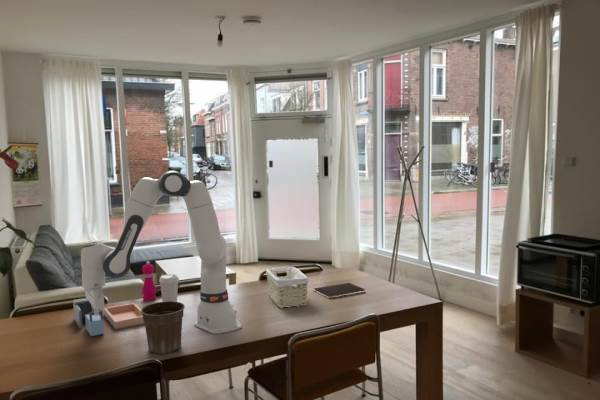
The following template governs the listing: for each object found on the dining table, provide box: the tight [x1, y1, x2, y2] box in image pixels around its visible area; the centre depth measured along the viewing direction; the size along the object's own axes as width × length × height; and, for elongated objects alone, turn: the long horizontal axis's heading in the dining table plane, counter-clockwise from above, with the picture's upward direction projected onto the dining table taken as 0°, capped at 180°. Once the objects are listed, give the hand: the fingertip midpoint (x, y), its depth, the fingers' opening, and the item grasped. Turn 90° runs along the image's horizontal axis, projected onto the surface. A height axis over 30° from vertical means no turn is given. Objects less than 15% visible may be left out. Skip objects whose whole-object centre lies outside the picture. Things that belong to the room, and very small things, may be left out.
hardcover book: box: [313, 282, 366, 297], centre depth 260 cm, size 16×23×2 cm
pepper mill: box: [141, 260, 157, 302], centre depth 248 cm, size 7×7×20 cm
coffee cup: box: [158, 273, 180, 302], centre depth 237 cm, size 10×10×15 cm
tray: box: [103, 302, 145, 330], centre depth 219 cm, size 22×14×4 cm, turn 34°
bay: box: [72, 297, 101, 330], centre depth 216 cm, size 14×9×9 cm, turn 34°
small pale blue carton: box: [84, 310, 105, 337], centre depth 204 cm, size 12×5×10 cm, turn 34°
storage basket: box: [265, 266, 309, 309], centre depth 244 cm, size 24×16×15 cm
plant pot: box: [140, 301, 186, 355], centre depth 186 cm, size 16×16×16 cm
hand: (95, 314), depth 200 cm, fingers closed on small pale blue carton
